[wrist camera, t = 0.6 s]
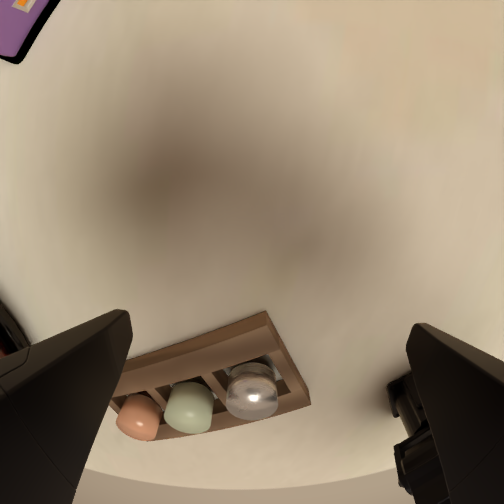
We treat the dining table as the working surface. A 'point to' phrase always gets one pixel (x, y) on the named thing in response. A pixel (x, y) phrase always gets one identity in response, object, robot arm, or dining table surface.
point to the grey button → (252, 391)
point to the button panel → (213, 371)
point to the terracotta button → (139, 417)
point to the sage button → (189, 408)
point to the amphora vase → (10, 335)
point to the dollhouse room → (22, 26)
